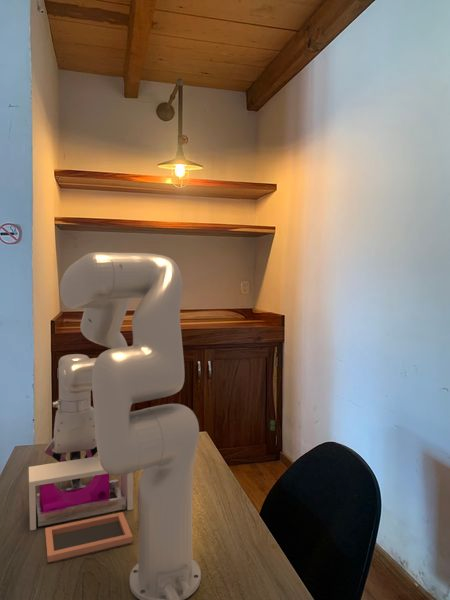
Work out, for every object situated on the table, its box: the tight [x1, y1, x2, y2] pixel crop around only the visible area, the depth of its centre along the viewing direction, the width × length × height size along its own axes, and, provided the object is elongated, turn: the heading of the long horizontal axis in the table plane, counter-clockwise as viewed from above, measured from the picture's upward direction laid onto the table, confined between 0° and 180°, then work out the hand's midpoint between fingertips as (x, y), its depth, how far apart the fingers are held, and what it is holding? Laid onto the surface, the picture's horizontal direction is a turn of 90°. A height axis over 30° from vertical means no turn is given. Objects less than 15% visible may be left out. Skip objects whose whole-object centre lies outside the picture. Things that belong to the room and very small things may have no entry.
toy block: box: [38, 474, 110, 512], centre depth 104 cm, size 15×6×8 cm, turn 120°
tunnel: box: [28, 455, 134, 531], centre depth 103 cm, size 8×22×10 cm, turn 114°
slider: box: [36, 451, 127, 527], centre depth 108 cm, size 18×19×8 cm
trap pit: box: [44, 511, 134, 565], centre depth 92 cm, size 10×16×2 cm, turn 114°
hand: (75, 474), depth 114 cm, fingers open, 4 cm apart
